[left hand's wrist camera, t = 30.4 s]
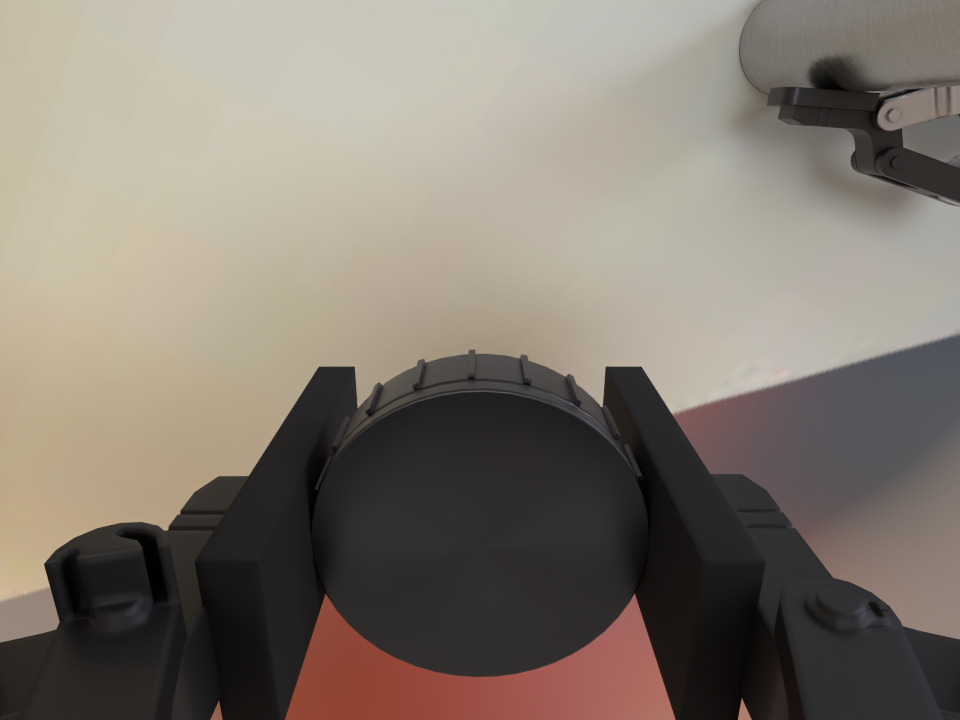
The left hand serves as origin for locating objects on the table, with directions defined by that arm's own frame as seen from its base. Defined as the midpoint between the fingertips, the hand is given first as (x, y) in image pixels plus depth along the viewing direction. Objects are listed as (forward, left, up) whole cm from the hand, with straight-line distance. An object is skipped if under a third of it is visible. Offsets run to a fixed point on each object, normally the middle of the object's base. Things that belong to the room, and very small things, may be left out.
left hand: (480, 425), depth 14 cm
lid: (0, 0, +4) cm, 4 cm away
